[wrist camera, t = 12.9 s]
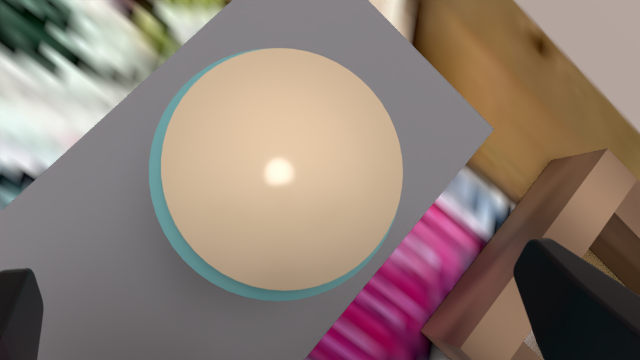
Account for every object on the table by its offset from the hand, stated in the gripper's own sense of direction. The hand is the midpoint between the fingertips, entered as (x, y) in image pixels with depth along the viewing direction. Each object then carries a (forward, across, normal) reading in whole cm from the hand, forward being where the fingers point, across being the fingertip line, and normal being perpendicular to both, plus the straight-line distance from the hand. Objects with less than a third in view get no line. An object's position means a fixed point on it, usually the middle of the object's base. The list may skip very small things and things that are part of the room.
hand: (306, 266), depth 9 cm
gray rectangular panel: (+10, 0, +7) cm, 12 cm away
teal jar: (+9, 0, +6) cm, 11 cm away
